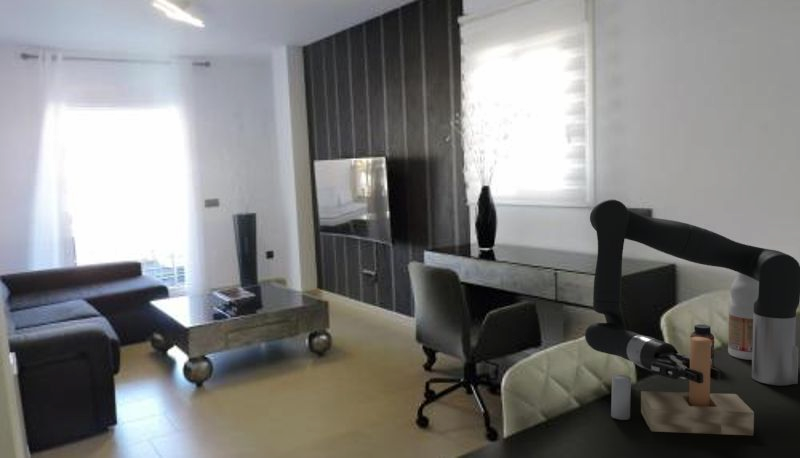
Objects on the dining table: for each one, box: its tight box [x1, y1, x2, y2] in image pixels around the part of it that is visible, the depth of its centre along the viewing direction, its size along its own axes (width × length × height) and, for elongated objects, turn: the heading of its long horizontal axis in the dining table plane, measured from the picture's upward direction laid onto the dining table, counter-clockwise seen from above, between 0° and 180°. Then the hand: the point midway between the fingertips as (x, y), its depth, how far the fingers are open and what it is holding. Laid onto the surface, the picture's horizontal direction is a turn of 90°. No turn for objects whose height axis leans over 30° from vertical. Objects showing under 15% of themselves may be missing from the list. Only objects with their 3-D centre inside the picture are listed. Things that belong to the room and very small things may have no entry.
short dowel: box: [610, 374, 632, 421], centre depth 135 cm, size 4×4×9 cm
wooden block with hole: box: [640, 390, 755, 436], centre depth 131 cm, size 20×10×5 cm, turn 80°
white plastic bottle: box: [727, 272, 759, 361], centre depth 172 cm, size 9×9×28 cm
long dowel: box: [688, 337, 711, 407], centre depth 130 cm, size 4×4×18 cm
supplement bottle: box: [689, 323, 715, 368], centre depth 166 cm, size 6×6×11 cm
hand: (710, 377), depth 127 cm, fingers open, 4 cm apart
